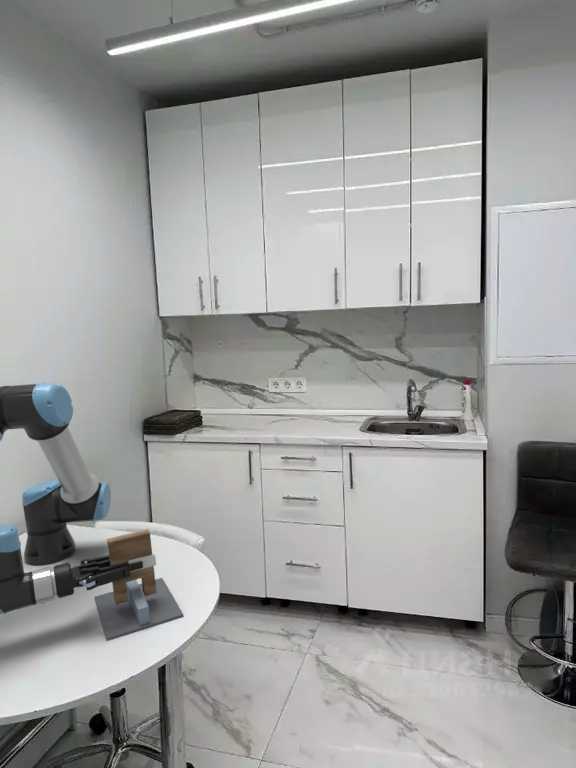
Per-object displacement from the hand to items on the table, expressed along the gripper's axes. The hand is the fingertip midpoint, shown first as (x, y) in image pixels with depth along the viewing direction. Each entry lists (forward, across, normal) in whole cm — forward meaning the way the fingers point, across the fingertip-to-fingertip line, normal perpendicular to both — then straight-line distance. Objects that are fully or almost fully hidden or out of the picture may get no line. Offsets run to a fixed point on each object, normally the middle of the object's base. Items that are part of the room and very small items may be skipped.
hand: (153, 556), depth 139 cm
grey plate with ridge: (-5, 0, -12) cm, 13 cm away
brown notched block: (-5, 0, -9) cm, 11 cm away
